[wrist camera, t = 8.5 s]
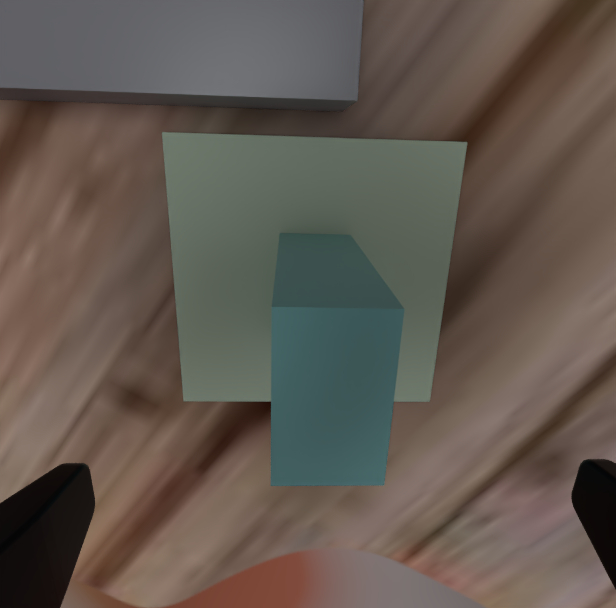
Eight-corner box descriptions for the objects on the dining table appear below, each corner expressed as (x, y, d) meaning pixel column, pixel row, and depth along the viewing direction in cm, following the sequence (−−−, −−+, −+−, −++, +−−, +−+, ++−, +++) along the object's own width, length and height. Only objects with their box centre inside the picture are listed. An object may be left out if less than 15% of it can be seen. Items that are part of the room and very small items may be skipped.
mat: (461, 142, 18) (467, 142, 17) (426, 395, 22) (429, 401, 21) (166, 132, 17) (162, 132, 16) (186, 394, 21) (183, 401, 21)
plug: (350, 234, 18) (404, 308, 10) (343, 342, 20) (384, 485, 11) (279, 233, 18) (271, 306, 10) (278, 341, 20) (270, 485, 11)
